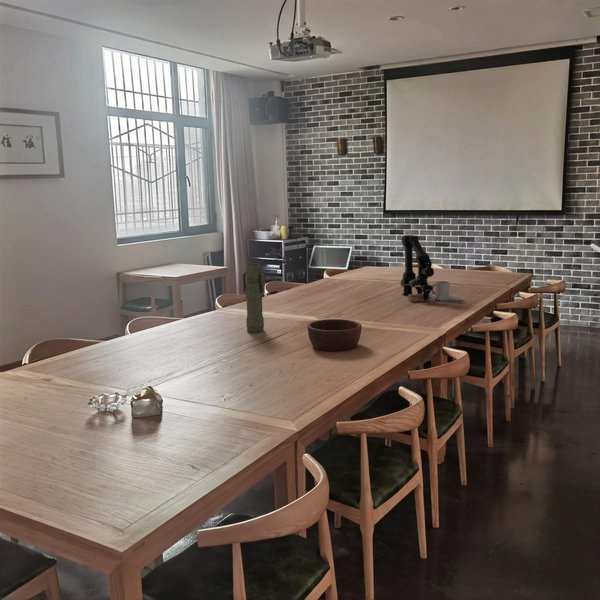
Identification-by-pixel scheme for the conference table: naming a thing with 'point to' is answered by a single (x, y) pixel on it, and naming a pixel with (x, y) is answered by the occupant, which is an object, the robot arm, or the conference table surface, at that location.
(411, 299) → the panel
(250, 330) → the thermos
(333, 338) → the wooden bowl
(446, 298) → the mug
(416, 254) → the robot arm
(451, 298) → the mat
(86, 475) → the conference table surface
